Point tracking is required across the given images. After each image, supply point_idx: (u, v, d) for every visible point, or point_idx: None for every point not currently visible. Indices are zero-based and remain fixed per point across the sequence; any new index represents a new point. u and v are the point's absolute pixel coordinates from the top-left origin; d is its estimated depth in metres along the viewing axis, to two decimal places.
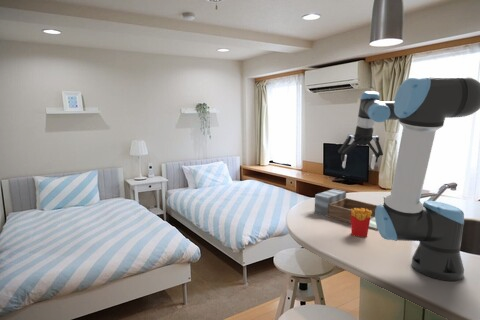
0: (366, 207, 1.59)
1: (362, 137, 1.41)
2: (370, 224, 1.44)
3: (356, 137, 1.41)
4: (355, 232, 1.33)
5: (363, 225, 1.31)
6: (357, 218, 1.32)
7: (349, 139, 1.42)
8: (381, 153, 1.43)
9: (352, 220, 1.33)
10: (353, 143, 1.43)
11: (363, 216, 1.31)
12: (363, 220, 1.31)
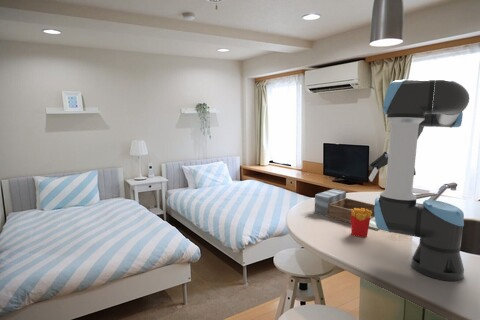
0: (366, 207, 1.59)
1: None
2: (370, 224, 1.44)
3: None
4: (355, 232, 1.33)
5: (363, 225, 1.31)
6: (357, 218, 1.32)
7: (383, 154, 1.46)
8: None
9: (352, 220, 1.33)
10: None
11: (363, 216, 1.31)
12: (363, 220, 1.31)
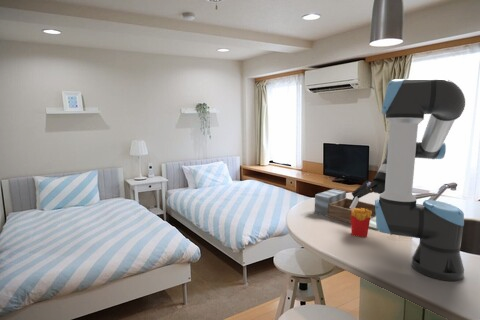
0: (366, 207, 1.59)
1: (378, 183, 1.40)
2: (370, 224, 1.44)
3: (372, 182, 1.42)
4: (355, 232, 1.33)
5: (363, 225, 1.31)
6: (357, 218, 1.32)
7: (365, 182, 1.44)
8: None
9: (352, 220, 1.33)
10: None
11: (363, 216, 1.31)
12: (363, 220, 1.31)
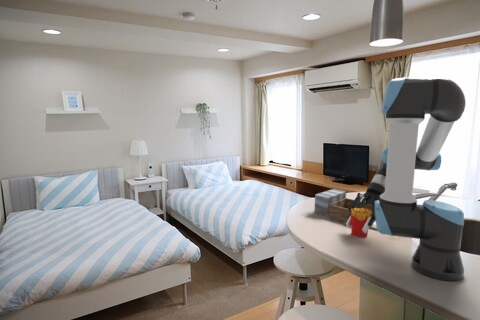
0: (366, 207, 1.59)
1: (371, 193, 1.37)
2: None
3: (365, 193, 1.39)
4: (354, 232, 1.33)
5: (363, 225, 1.31)
6: (357, 218, 1.32)
7: (358, 195, 1.40)
8: None
9: (352, 220, 1.33)
10: None
11: (363, 216, 1.31)
12: (363, 220, 1.31)
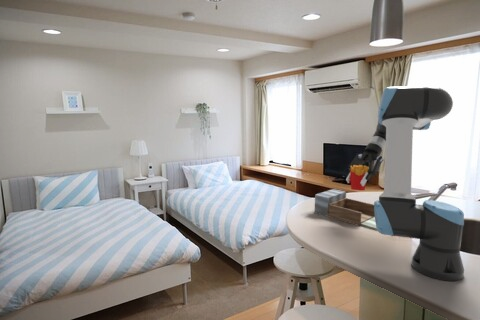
0: (366, 207, 1.59)
1: (368, 152, 1.53)
2: (370, 224, 1.44)
3: (363, 153, 1.55)
4: (354, 187, 1.49)
5: (361, 179, 1.47)
6: (356, 173, 1.48)
7: (357, 155, 1.56)
8: (374, 170, 1.44)
9: (351, 175, 1.49)
10: None
11: (361, 171, 1.47)
12: (361, 175, 1.47)
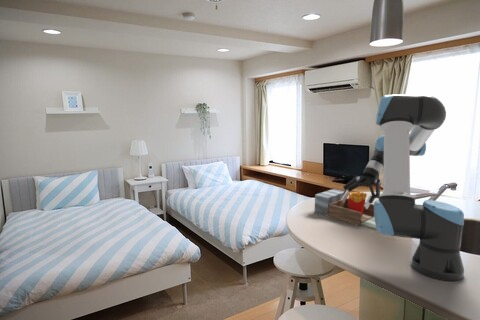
0: None
1: (366, 177, 1.57)
2: (370, 224, 1.44)
3: (361, 176, 1.60)
4: None
5: (359, 206, 1.52)
6: (354, 200, 1.52)
7: (355, 177, 1.61)
8: (377, 193, 1.47)
9: (350, 202, 1.53)
10: None
11: (359, 198, 1.51)
12: (359, 202, 1.52)
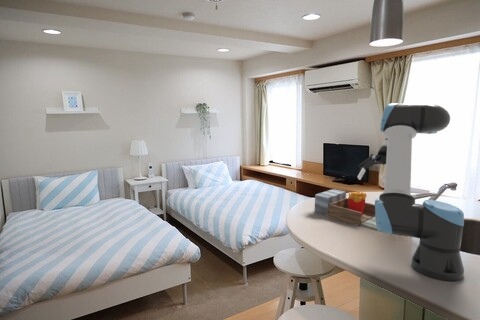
0: (366, 207, 1.59)
1: (381, 156, 1.63)
2: (370, 224, 1.44)
3: (376, 155, 1.65)
4: None
5: (359, 206, 1.52)
6: (354, 200, 1.53)
7: (370, 156, 1.67)
8: None
9: (350, 202, 1.54)
10: None
11: (359, 198, 1.52)
12: (359, 202, 1.52)
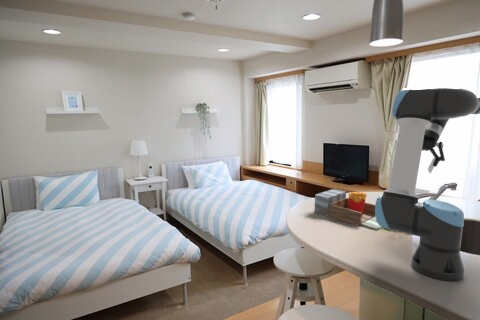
0: (366, 207, 1.59)
1: (424, 141, 1.45)
2: (370, 224, 1.44)
3: None
4: None
5: (359, 206, 1.52)
6: (354, 200, 1.53)
7: None
8: (442, 155, 1.35)
9: (350, 202, 1.54)
10: None
11: (359, 198, 1.52)
12: (359, 202, 1.52)
